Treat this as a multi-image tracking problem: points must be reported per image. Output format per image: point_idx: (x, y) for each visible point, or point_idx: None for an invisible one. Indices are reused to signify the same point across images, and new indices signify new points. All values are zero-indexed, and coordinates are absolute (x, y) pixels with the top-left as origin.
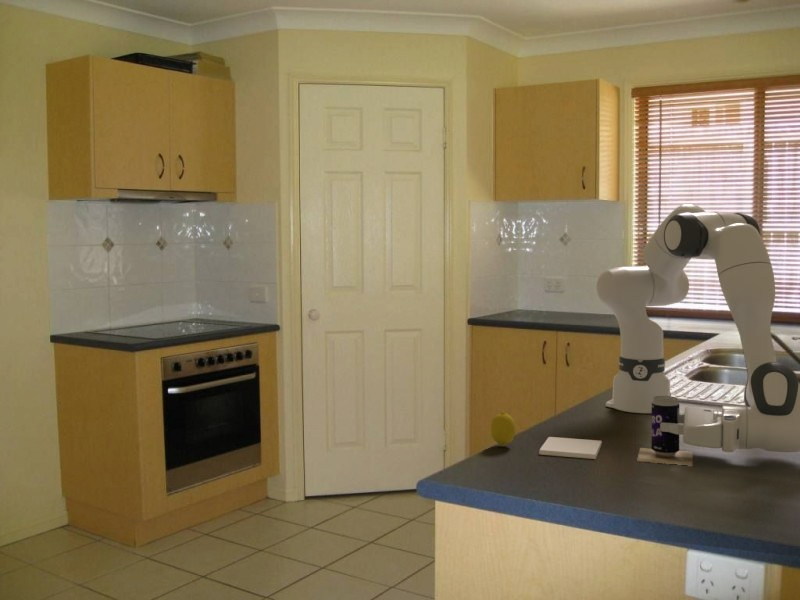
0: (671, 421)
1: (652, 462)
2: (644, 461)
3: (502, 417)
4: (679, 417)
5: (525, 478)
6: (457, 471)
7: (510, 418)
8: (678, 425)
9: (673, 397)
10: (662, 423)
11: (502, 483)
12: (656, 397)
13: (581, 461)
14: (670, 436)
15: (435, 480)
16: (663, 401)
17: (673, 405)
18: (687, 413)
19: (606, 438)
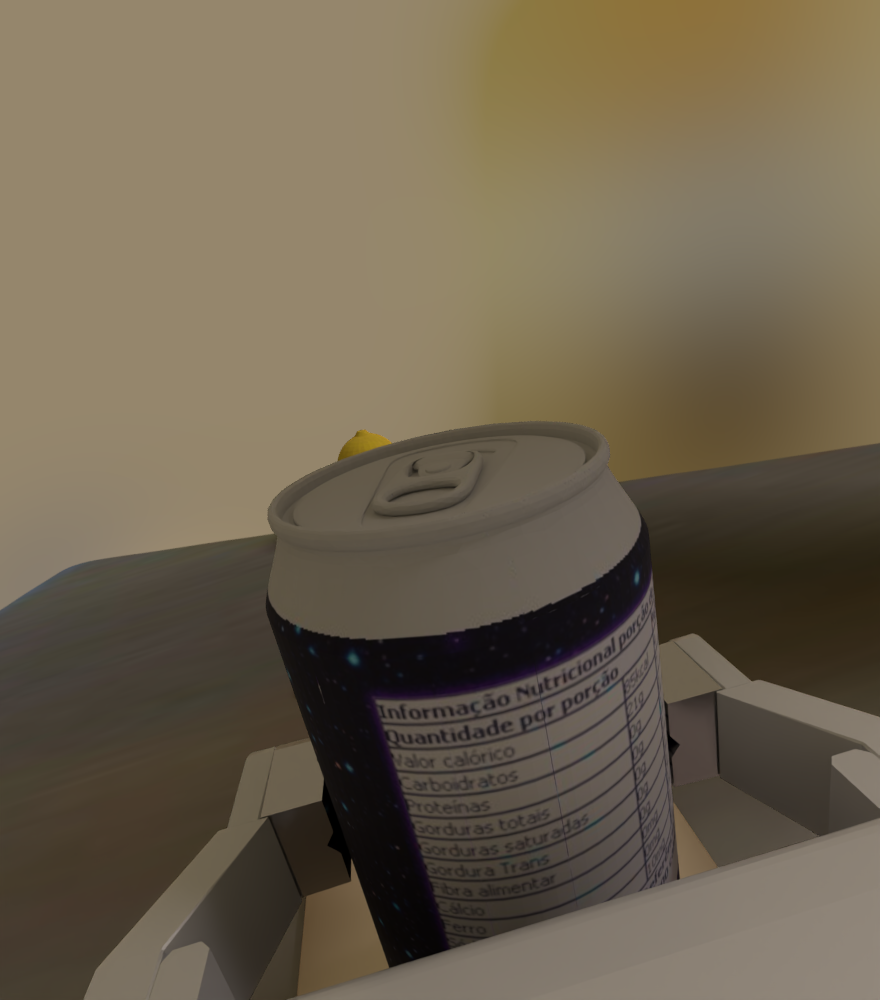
0: (339, 815)
1: (300, 974)
2: (308, 907)
3: (344, 445)
4: (833, 803)
5: (51, 651)
6: (143, 561)
7: (358, 451)
8: (98, 995)
9: (590, 471)
10: (247, 763)
11: (12, 638)
12: (474, 439)
13: (269, 673)
14: (386, 952)
15: (74, 569)
16: (286, 512)
17: (293, 620)
18: (816, 890)
19: (699, 600)
